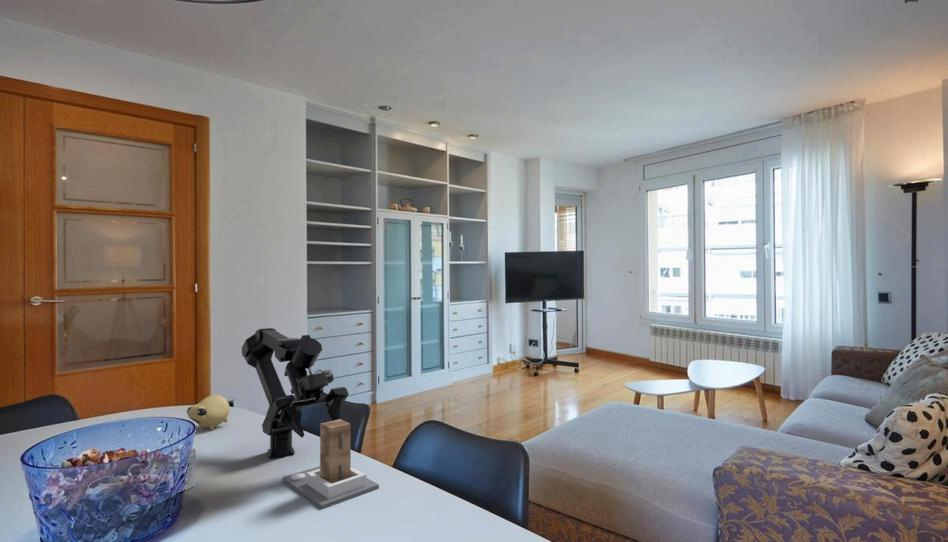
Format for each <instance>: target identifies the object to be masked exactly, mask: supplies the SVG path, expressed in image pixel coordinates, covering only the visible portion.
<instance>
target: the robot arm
mask: <svg viewBox="0 0 948 542" xmlns="http://www.w3.org/2000/svg"><path fill="white" fill-rule="evenodd" d="M322 350H323V345H322V343H321V342H319V341H318V340H317V339H315V338H314V337H313V338H312V337H311V335H310V334H304V335H301V336H300V338H299V337H296V338H295V337H294V338H293V337H287V336H286V335H284V334H282V333H280V332H279V331H277V330H276V329H275V328H272V327H267V328H259V329H256V331H255V332H254V334H252V335H251V336H249V337H248V338H246V339H245V341H244V343H243V345H242V346H241V355H242V357H243V358H244V360H245V362H246V364H247V365H249V366H250V367H253V368H254V369H255V371H256V374H257V375H258V379H259V381H260V384H261V387H262V389H263V391H264V393H265V397H266V399H267V402H268V405H269V406H268V407H267V411H266V415H265V418H264V420H263V422H262V423H261V428H262V433H263V434H265V435H267V436H269V448H268V449H267V455H268V459H272V458H273V459H274V458H279V457H285V455H287V456H291V455H290V454H293V455H295V454H294V453H295V452H296V451H295V450H294V447H293V432H294V433H295V434H297V436H299V437H300V438H304V437H305V432H304V428H303V425H302V423H301V420H302V416H303V414H302V413H303V412H302V410H301V409H303V408H308V407H313V406H317V405H323V404H325V406H326V407H327V408H328V409H327V413H328V415H329V417H330V419H331V421H334V420H338V419H341V407H342V406H343V405H344V402H346V400H347V398H348V396H349V394H350V393H349V391H348V389H347V387H345V386H340V387H339V386H338V387H334V388H333V387H332V388H331V389H330V390H329V392H328V394H325V395H322V393H323V394H324V390H325V389H324V388H325V387H328V386H329V384H331V383H333V382H334V374H333V372H332V370H331V369H325V370H323V371H321V372H319V373H313V372H312V370H311V368H312V367H313V366H315V363H316V361H317V360H318V358H319V356H320V354H321V352H322ZM273 355H274V357H275V358H276V360H277V361H278V362H279V363H283V362H284V363H286V366H285V368H284V370H285V371H284V377H288V381H289V383H290V386H291V388H290V393H291V394H289V395H287V394H286V392H285V390H284V387H283V384H282V382H281V380H280V378H279V376H278V373H277V372H278V371H277V370H276V368H275V365H274V363H273V361H272V358H273Z"/></svg>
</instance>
